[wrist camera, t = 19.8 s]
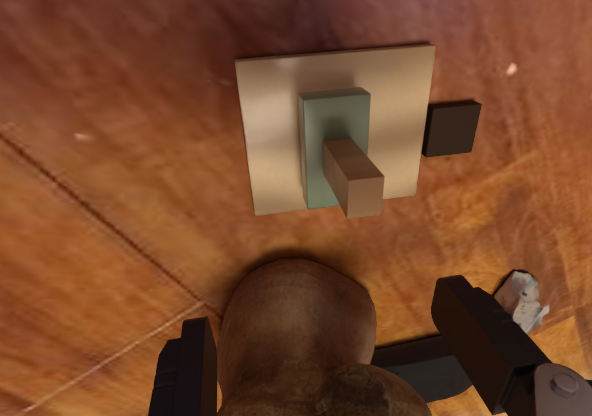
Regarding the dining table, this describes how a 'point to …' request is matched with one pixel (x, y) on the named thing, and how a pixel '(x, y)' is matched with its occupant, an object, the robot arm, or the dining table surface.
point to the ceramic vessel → (305, 348)
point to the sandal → (425, 367)
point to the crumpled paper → (522, 300)
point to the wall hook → (338, 152)
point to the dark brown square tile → (450, 128)
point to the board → (325, 75)
